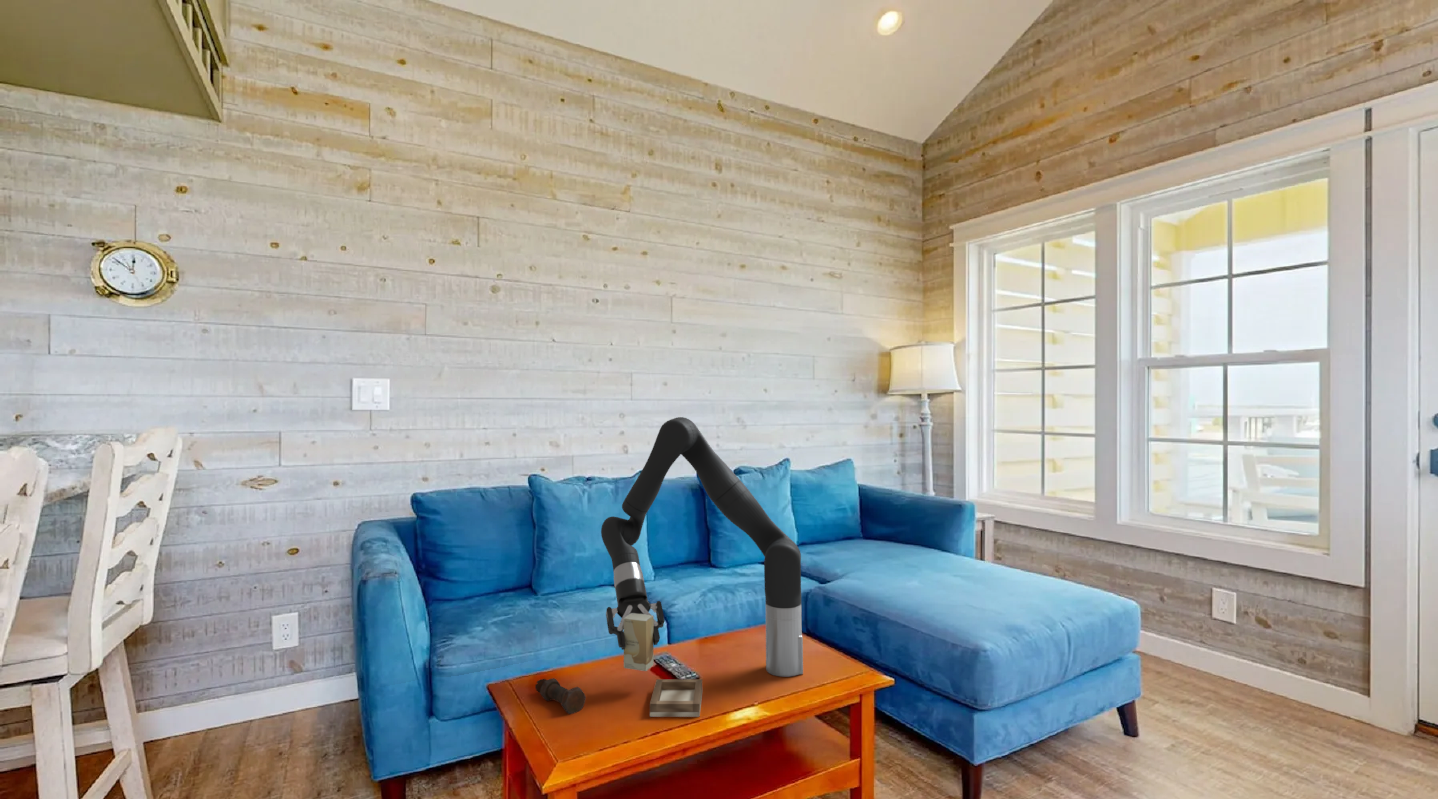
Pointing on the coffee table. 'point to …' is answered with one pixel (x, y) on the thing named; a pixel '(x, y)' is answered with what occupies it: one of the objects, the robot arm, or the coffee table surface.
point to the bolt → (561, 695)
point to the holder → (676, 698)
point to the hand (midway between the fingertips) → (640, 645)
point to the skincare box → (638, 641)
